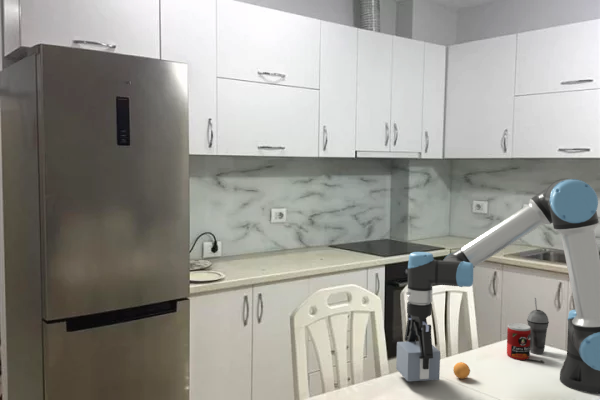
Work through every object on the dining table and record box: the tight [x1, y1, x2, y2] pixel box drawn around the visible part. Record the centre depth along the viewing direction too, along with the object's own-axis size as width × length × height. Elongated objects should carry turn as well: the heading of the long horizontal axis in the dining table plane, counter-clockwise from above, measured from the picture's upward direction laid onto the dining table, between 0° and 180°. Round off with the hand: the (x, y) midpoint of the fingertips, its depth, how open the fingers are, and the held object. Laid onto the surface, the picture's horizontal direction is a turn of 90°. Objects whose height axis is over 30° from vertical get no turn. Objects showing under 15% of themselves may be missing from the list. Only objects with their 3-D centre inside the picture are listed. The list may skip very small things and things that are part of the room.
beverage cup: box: [526, 297, 550, 355], centre depth 197 cm, size 7×7×20 cm
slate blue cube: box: [395, 340, 441, 382], centre depth 170 cm, size 10×10×9 cm
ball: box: [452, 361, 471, 380], centre depth 173 cm, size 5×5×5 cm
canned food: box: [506, 322, 531, 361], centre depth 193 cm, size 8×8×11 cm
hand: (417, 371), depth 171 cm, fingers closed on slate blue cube, 10 cm apart
